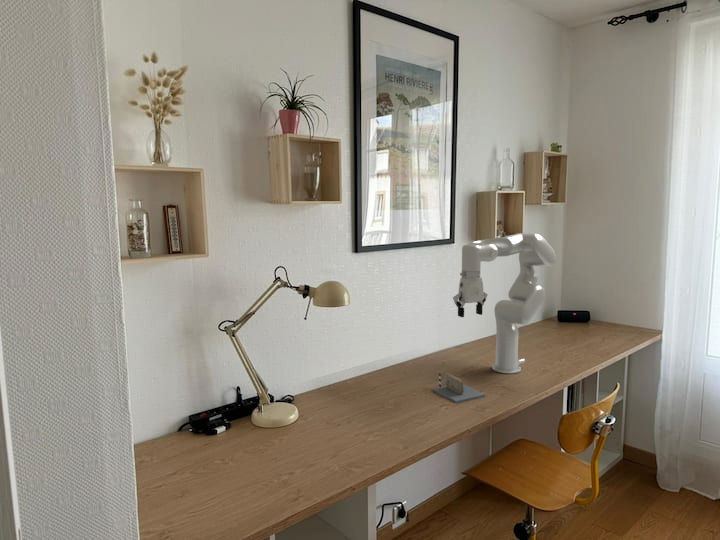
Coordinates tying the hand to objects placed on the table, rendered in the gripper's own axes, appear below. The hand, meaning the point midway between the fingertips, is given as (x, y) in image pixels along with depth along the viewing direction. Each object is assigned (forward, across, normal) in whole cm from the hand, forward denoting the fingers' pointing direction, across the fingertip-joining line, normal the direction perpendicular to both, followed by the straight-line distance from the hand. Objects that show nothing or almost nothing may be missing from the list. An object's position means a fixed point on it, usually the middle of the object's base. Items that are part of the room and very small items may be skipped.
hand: (470, 315), depth 210 cm
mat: (+28, -13, -9) cm, 32 cm away
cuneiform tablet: (+28, -14, -7) cm, 32 cm away
